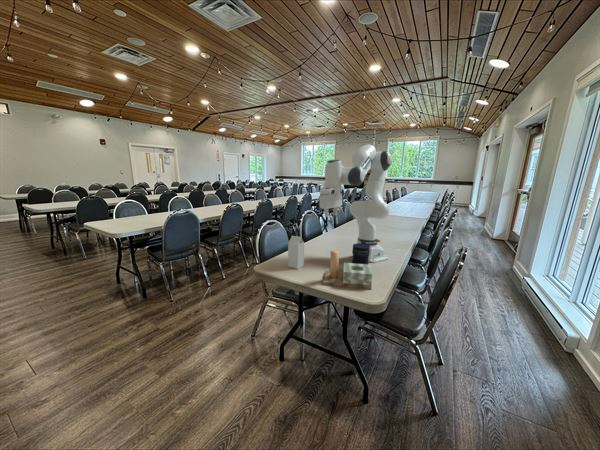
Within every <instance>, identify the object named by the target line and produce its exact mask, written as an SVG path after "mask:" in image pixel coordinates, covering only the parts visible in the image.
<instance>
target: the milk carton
mask: <svg viewBox="0 0 600 450" xmlns="http://www.w3.org/2000/svg"><path fill="white" fill-rule="evenodd" d="M287 243H288V244H287V245H288V246H287V250H288V251H287V255H288V256H287V266H288V267H289V268H291V269H297V270H299V269H300V268H302V267H304V266H305V241H304V240H303V238H302V237H301V236H297V235H296V236H295V235H291V237H290V240H289V241H288V242H287Z"/></svg>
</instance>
